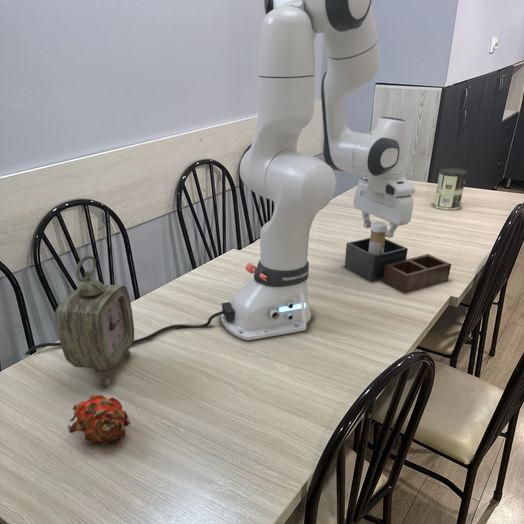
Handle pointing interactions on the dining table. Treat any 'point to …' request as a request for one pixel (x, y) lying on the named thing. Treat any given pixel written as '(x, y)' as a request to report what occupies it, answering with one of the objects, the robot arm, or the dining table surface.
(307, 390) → the dining table surface
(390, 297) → the dining table surface
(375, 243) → the spice jar
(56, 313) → the tabletop clock
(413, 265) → the rack
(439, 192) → the coffee can
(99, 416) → the dragon fruit
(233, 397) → the dining table surface
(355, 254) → the dark grey open box
